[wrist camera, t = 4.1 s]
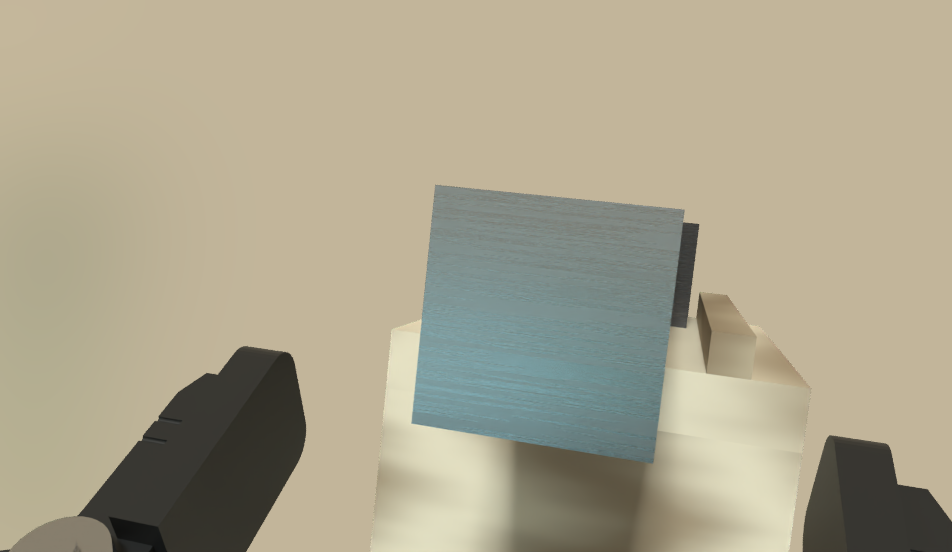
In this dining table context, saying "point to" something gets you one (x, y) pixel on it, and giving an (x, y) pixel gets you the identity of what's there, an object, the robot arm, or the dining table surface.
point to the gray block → (551, 319)
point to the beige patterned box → (610, 462)
